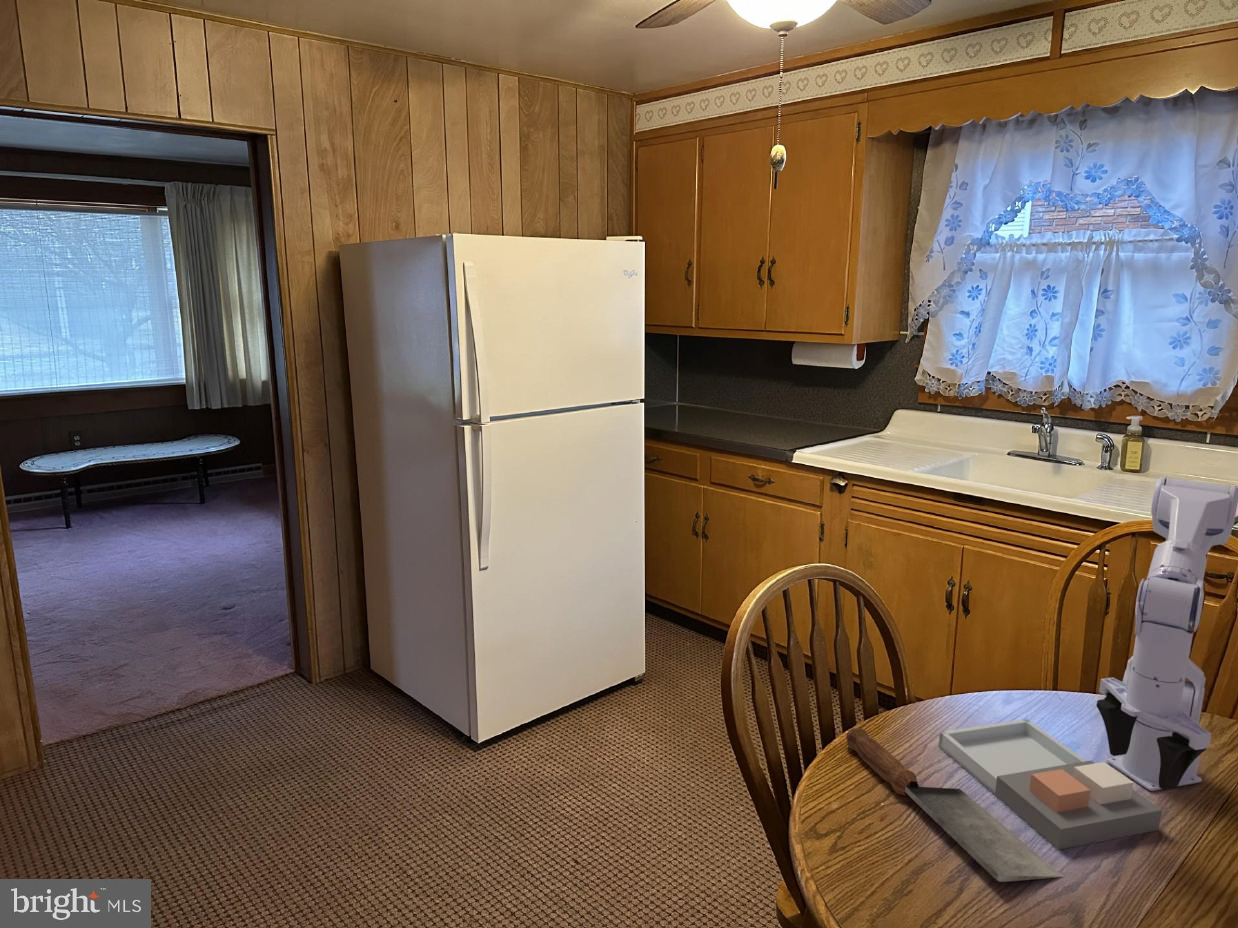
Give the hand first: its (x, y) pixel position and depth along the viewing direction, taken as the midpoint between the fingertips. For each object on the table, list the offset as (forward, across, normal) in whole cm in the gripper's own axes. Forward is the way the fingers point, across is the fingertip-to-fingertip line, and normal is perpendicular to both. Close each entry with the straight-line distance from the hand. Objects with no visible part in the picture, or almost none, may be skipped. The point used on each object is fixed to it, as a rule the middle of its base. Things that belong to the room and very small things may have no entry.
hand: (1142, 770), depth 107 cm
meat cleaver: (+11, -13, -19) cm, 25 cm away
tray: (+10, -19, -3) cm, 22 cm away
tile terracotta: (+7, -6, -6) cm, 11 cm away
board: (+10, -7, -2) cm, 13 cm away
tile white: (+7, -6, +1) cm, 10 cm away
